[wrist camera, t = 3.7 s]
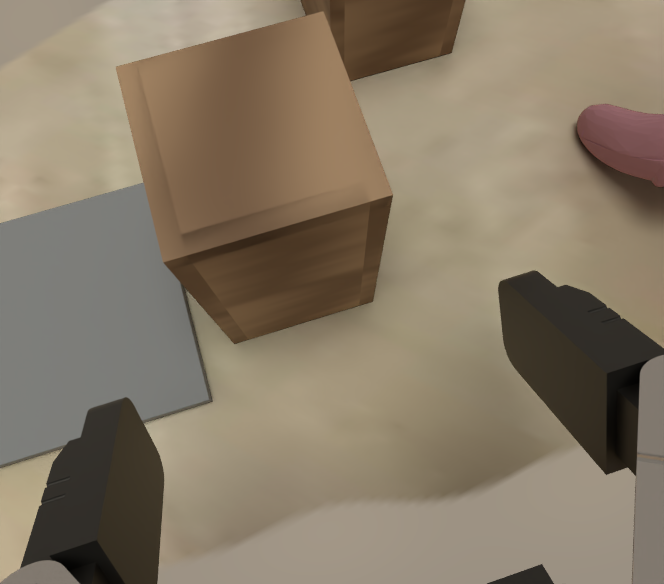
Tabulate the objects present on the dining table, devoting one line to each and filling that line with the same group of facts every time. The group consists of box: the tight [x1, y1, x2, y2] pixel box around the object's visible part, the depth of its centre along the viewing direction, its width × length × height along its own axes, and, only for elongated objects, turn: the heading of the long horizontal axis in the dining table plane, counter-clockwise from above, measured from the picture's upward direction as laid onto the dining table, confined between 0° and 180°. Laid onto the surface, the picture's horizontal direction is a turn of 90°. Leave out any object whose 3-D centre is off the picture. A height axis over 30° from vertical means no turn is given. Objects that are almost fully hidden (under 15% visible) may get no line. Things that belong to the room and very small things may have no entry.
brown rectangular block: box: [116, 11, 393, 344], centre depth 20 cm, size 6×6×10 cm
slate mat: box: [0, 183, 212, 468], centre depth 24 cm, size 10×10×1 cm
